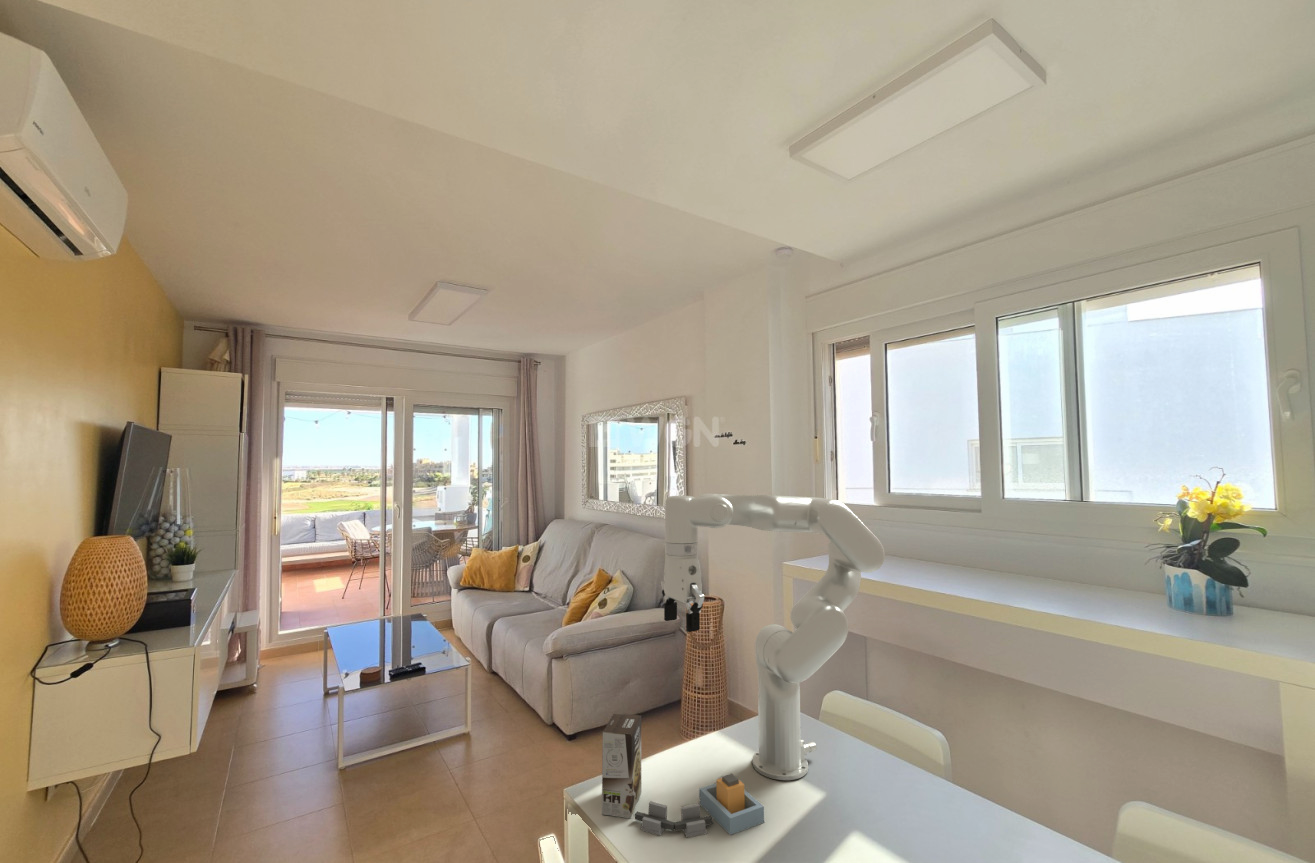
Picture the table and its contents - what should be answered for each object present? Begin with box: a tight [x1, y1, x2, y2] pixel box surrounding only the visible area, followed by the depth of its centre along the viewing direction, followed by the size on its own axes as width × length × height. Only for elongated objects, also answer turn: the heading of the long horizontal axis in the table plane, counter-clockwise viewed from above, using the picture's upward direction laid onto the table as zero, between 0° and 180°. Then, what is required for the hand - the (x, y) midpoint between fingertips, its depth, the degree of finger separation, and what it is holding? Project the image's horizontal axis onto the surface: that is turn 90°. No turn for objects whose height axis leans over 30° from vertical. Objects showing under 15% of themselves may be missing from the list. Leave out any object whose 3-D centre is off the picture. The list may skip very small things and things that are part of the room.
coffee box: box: [601, 713, 642, 819], centre depth 115 cm, size 9×6×16 cm
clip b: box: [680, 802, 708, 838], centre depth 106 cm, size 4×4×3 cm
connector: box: [716, 773, 745, 814], centre depth 111 cm, size 4×4×7 cm
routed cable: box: [634, 811, 714, 832], centre depth 107 cm, size 15×4×1 cm, turn 85°
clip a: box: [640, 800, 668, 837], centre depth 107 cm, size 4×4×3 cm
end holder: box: [698, 782, 765, 836], centre depth 111 cm, size 8×11×3 cm
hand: (681, 625), depth 127 cm, fingers open, 9 cm apart
